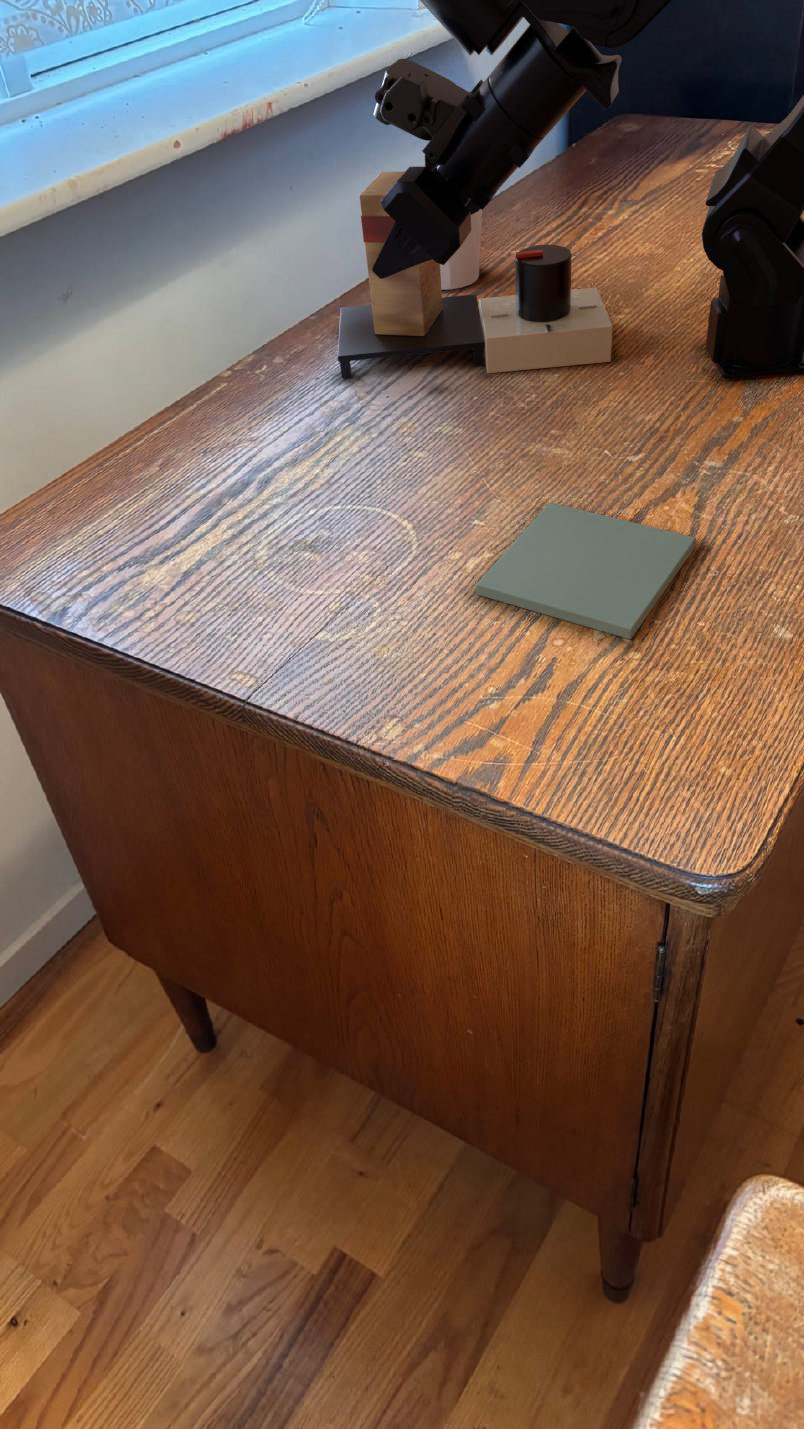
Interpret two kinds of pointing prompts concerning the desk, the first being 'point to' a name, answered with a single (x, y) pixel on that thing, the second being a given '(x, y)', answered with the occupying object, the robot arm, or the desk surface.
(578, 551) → the mat
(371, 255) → the block
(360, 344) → the black low stand
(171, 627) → the desk surface
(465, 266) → the white cup
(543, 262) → the oven knob
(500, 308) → the panel
